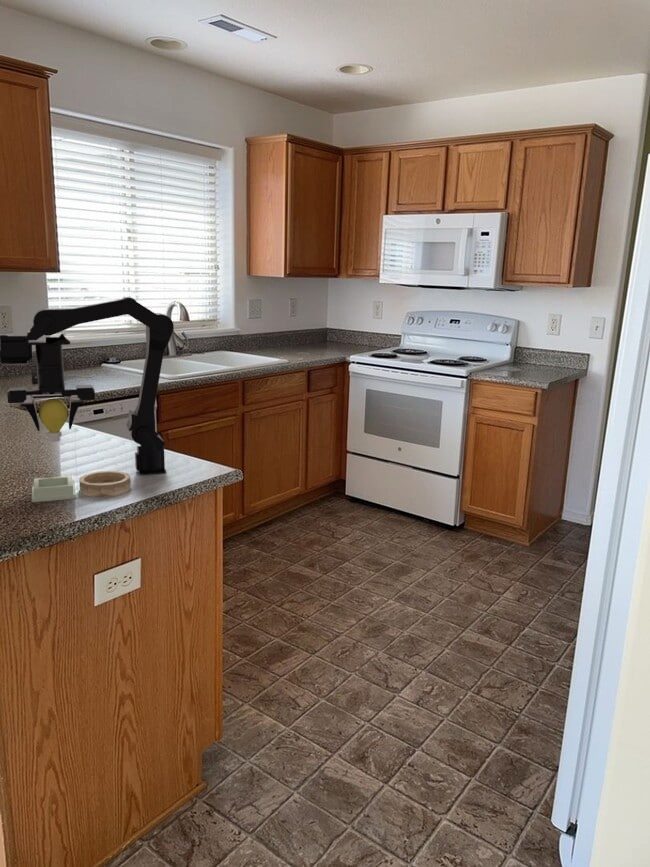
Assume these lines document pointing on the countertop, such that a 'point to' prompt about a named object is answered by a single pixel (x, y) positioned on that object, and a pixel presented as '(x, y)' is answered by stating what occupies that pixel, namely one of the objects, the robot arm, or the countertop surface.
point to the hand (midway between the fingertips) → (54, 429)
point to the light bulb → (53, 417)
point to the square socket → (53, 489)
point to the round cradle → (104, 483)
